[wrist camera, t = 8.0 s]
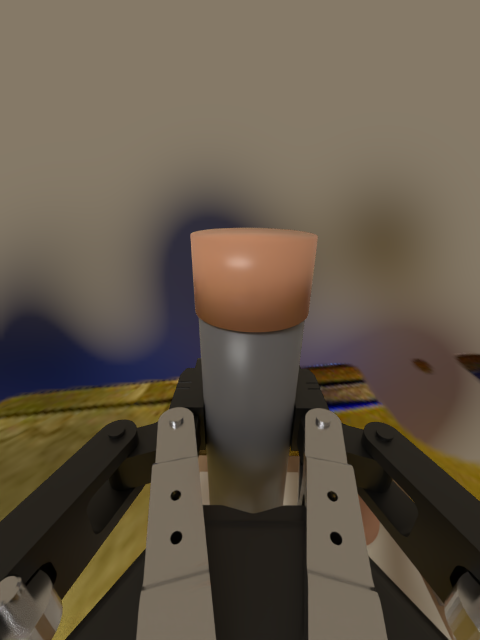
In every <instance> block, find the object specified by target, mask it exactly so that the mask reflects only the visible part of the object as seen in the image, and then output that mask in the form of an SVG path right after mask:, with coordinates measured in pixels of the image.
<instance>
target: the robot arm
mask: <svg viewBox="0 0 480 640" xmlns="http://www.w3.org/2000/svg"><path fill="white" fill-rule="evenodd" d="M206 444H207V443H206V425H205V408H204V397H203V381H202V364H201V358H198V359H197V363H196V367H195V368H187V369H186V370H185V371H184V372H183V373H182V374H181V375H180V378H179V381H178V384H177V387H176V390H175V393H174V396H173V399H172V402H171V405H170V408H169V410H167V411H166V412H164V413H163V414H162V415H161V416H160V418H159V420H158V422H156V423H154V424H151V425H147V426H143V427H139V428H137V427H136V425H135V423H134V422H132V421H130V420H118V421H114V422H112V423H110V424H108V425H106V426H105V427H104V428H102V429H101V430H100V431H99V432H98V433H97V434H96V435H95V436H94V437H93V438H92V439H90V440H89V441H88V442H87V443H86V444H85V445H84V446H83V447H82V448H81V449H79V450H78V451H77V452H76V453H75V454H74V455H73V456H72V457H71V458H70V459H69V460H67V461H66V462H65V463H64V464H63V465H62V466H61V467H60V468H59V469H58V470H56V471H55V472H54V473H53V474H52V475H51V476H50V477H49V478H48V479H47V480H46V481H44V482H43V483H42V484H41V485H40V486H39V487H38V488H37V489H36V490H35V491H34V492H32V493H31V494H30V495H29V496H28V497H27V498H26V499H25V500H24V501H23V502H21V503H20V504H19V505H18V506H17V507H16V508H15V509H14V510H13V511H12V512H11V513H9V514H8V515H7V516H6V517H5V518H4V519H3V520H2V521H1V522H0V640H51V639H52V638H53V636H54V634H55V632H56V630H57V628H58V626H59V623H60V620H61V616H62V608H63V607H62V601H61V600H62V599H63V597H64V596H65V595H66V593H67V592H68V590H69V589H70V588H71V586H72V585H73V584H74V582H75V581H76V579H77V578H78V577H79V575H80V574H81V573H82V571H83V570H84V568H85V567H86V566H87V564H88V563H89V562H90V560H91V559H92V557H93V556H94V555H95V553H96V552H97V551H98V549H99V548H100V547H101V545H102V544H103V542H104V541H105V540H106V538H107V537H108V536H109V534H110V533H111V531H112V530H113V529H114V527H115V526H116V525H117V523H118V522H119V520H120V519H121V518H122V516H123V515H124V514H125V512H126V511H127V509H128V508H129V507H130V505H131V504H132V503H133V501H134V500H135V498H136V497H137V496H138V494H139V493H140V492H141V490H142V489H143V487H144V486H145V484H148V483H151V488H150V502H149V515H148V528H147V542H146V549H145V550H144V551H143V552H142V553H141V554H140V556H139V557H138V558H137V559H136V560H135V561H134V562H133V563H132V565H131V566H130V567H129V568H128V569H127V570H126V571H125V573H124V574H123V575H122V576H121V577H120V578H119V579H118V580H117V582H116V583H115V584H114V585H113V586H112V587H111V588H110V590H109V591H108V592H107V593H106V594H105V595H104V596H103V597H102V599H101V600H100V601H99V602H98V603H97V604H96V605H95V606H94V608H93V609H92V610H91V611H90V612H89V613H88V614H87V615H86V617H85V618H84V619H83V620H82V621H81V622H80V623H79V625H78V626H77V627H76V628H75V629H74V630H73V631H72V632H71V634H70V635H69V636H68V637H67V638H66V639H65V640H449V639H448V638H447V637H446V636H445V635H444V634H443V633H442V632H441V631H440V630H439V629H438V628H437V627H436V626H435V625H434V624H433V622H432V621H431V620H430V619H429V618H428V617H427V616H426V615H425V614H424V613H423V612H422V611H421V610H420V609H419V608H418V607H417V606H416V605H415V604H414V603H413V602H412V601H411V600H410V598H409V597H408V596H407V595H406V594H405V593H404V592H403V591H402V590H401V589H400V588H399V587H398V586H397V585H396V584H395V583H394V582H393V581H392V580H391V579H390V578H389V577H388V576H387V574H386V573H385V572H384V571H383V570H382V569H381V568H380V567H379V566H378V565H377V564H376V563H375V562H374V561H373V560H372V559H371V558H370V557H369V556H368V550H367V545H366V539H365V533H364V527H363V521H362V515H361V510H360V504H359V498H358V495H359V496H360V497H361V498H362V500H363V501H364V502H365V503H366V505H367V506H368V507H369V509H370V510H371V511H372V512H373V514H374V515H375V516H376V518H377V519H378V520H379V521H380V523H381V524H382V525H383V527H384V528H385V529H386V530H387V532H388V533H389V534H390V535H391V537H392V538H393V539H394V541H395V542H396V543H397V544H398V546H399V547H400V548H401V550H402V551H403V552H404V553H405V555H406V556H407V557H408V558H409V560H410V561H411V562H412V564H413V565H414V566H415V567H416V569H417V570H418V571H419V573H420V574H421V575H422V576H423V578H424V579H425V580H426V582H427V583H428V584H429V585H430V587H431V588H432V589H433V590H434V592H435V593H436V594H437V596H438V597H439V598H440V599H441V601H442V602H443V603H444V611H445V616H446V620H447V622H448V625H449V627H450V629H451V631H452V633H453V637H454V640H480V501H479V500H477V499H476V498H475V497H474V496H473V495H472V494H471V493H469V492H468V491H467V490H466V489H465V488H464V487H462V486H461V485H460V484H459V483H458V482H457V481H455V480H454V479H453V478H452V477H451V476H450V475H448V474H447V473H446V472H445V471H444V470H443V469H441V468H440V467H439V466H438V465H437V464H436V463H435V462H433V461H432V460H431V459H430V458H429V457H428V456H426V455H425V454H424V453H423V452H422V451H421V450H419V449H418V448H417V447H416V446H415V445H414V444H412V443H411V442H410V441H409V440H408V439H407V438H405V437H404V436H403V435H402V434H401V433H400V432H398V431H397V430H396V429H395V428H393V427H391V426H389V425H387V424H384V423H380V422H371V423H368V424H367V425H366V426H365V427H364V430H363V429H359V428H355V427H351V426H347V425H345V424H343V423H341V421H340V419H339V417H338V416H337V415H336V414H334V413H333V412H331V411H329V408H328V406H327V404H326V401H325V399H324V396H323V394H322V392H321V390H320V387H319V384H318V382H317V380H316V377H315V375H314V374H313V373H312V372H310V371H309V370H308V369H301V368H300V365H299V372H298V381H297V389H296V398H295V406H294V414H293V423H292V431H291V440H290V447H291V451H299V456H300V459H299V469H298V500H297V505H283V506H280V507H276V508H273V509H269V510H266V511H262V512H259V513H248V512H245V511H241V510H238V509H234V508H231V507H227V506H224V505H203V504H202V494H201V484H200V473H199V463H198V457H199V451H200V450H206ZM393 480H394V481H395V482H396V483H397V484H398V485H399V486H400V487H401V488H402V489H403V490H404V491H405V492H406V493H407V495H408V496H409V497H410V498H411V499H412V500H413V501H414V502H413V501H412V500H411V499H410V498H409V497H408V496H407V495H406V494H405V493H404V491H403V490H402V489H401V488H400V487H399V486H398V485H397V484H396V483H395V482H394V481H393Z"/></svg>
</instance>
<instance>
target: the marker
mask: <svg viewBox="0 0 480 640" xmlns="http://www.w3.org/2000/svg"><path fill="white" fill-rule="evenodd" d="M317 240H318V236H317V235H315V234H313V233H308V232H303V231H296V230H286V229H272V228H222V229H209V230H202V231H197V232H193V233H192V234H191V246H192V247H191V249H192V264H193V281H194V296H195V311H196V314H197V316H198V317H199V329H200V345H201V364H202V381H203V397H204V408H205V425H206V443H207V444H206V449H207V467H208V484H209V501H210V505H224V506H227V507H231V508H234V509H238V510H241V511H245V512H248V513H259V512H262V511H266V510H269V509H273V508H276V507H280V506H283V500H284V492H285V483H286V475H287V466H288V458H289V449H290V440H291V431H292V423H293V414H294V406H295V398H296V389H297V381H298V372H299V363H300V354H301V346H302V338H303V329H304V320H305V319H306V318H307V316H308V313H309V305H310V297H311V289H312V281H313V273H314V264H315V256H316V248H317Z"/></svg>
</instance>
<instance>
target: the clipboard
mask: <svg viewBox="0 0 480 640" xmlns="http://www.w3.org/2000/svg"><path fill="white" fill-rule="evenodd" d="M299 459H300V456H289V458H288V466H287V475H286V483H285V492H284V500H283V505H297V500H298V469H299ZM198 463H199V473H200V484H201V494H202V504H203V505H210V501H209V484H208V467H207V455H199V457H198ZM393 481H394V480H393ZM394 482H395V481H394ZM395 483H396V482H395ZM396 484H397V483H396ZM397 485H398V484H397ZM398 486H399V485H398ZM399 487H400V486H399ZM400 488H401V487H400ZM401 489H402V488H401ZM402 490H403V489H402ZM403 491H404V490H403ZM404 493H405V494H406V495H407V493H406V492H405V491H404ZM407 496H408V495H407ZM408 497H409V496H408ZM358 498H359V504H360V510H361V515H362V521H363V527H364V533H365V539H366V545H367V550H368V556H369V557H370V558H371V559H372V560H373V561H374V562H375V563H376V564H377V565H378V566H379V567H380V568H381V569H382V570H383V571H384V572H385V573H386V574H387V576H388V577H389V578H390V579H391V580H392V581H393V582H394V583H395V584H396V585H397V586H398V587H399V588H400V589H401V590H402V591H403V592H404V593H405V594H406V595H407V596H408V597H409V598H410V600H411V601H412V602H413V603H414V604H415V605H416V606H417V607H418V608H419V609H420V610H421V611H422V612H423V613H424V614H425V615H426V616H427V617H428V618H429V619H430V620H431V621H432V622H433V624H434V625H435V626H436V627H437V628H438V629H439V630H440V631H441V632H442V633H443V634H444V635H445V636H446V637H447V638H448V639H449V640H454V637H453V633H452V631H451V629H450V627H449V625H448V622H447V620H446V616H445V611H444V603H443V602H442V601H441V599H440V598H439V597H438V596H437V594H436V593H435V592H434V590H433V589H432V588H431V587H430V585H429V584H428V583H427V582H426V580H425V579H424V578H423V576H422V575H421V574H420V573H419V571H418V570H417V569H416V567H415V566H414V565H413V564H412V562H411V561H410V560H409V558H408V557H407V556H406V555H405V553H404V552H403V551H402V550H401V548H400V547H399V546H398V544H397V543H396V542H395V541H394V539H393V538H392V537H391V535H390V534H389V533H388V532H387V530H386V529H385V528H384V527H383V525H382V524H381V523H380V521H379V520H378V519H377V518H376V516H375V515H374V514H373V512H372V511H371V510H370V509H369V507H368V506H367V505H366V503H365V502H364V501H363V500H362V498H361V497H360V496H359V495H358ZM409 498H410V497H409Z"/></svg>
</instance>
